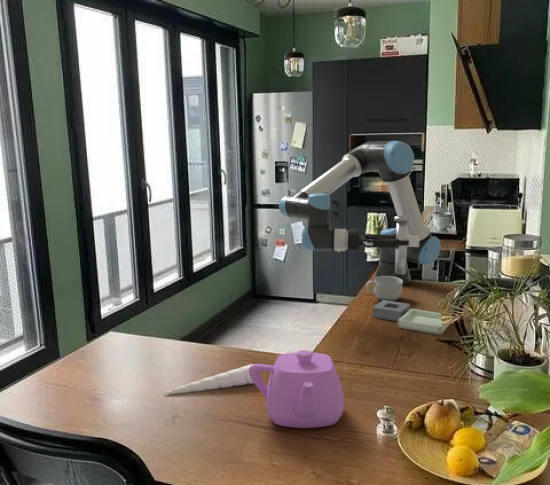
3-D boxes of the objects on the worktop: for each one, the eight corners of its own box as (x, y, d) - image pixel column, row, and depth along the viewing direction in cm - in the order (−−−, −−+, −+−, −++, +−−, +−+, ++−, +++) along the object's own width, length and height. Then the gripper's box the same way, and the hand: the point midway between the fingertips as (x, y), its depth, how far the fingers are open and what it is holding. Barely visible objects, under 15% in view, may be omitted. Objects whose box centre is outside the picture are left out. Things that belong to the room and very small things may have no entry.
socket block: (382, 309, 197) (383, 300, 196) (409, 313, 192) (410, 304, 191) (372, 317, 189) (372, 307, 188) (400, 321, 183) (400, 311, 183)
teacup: (400, 295, 214) (401, 275, 212) (404, 303, 203) (404, 283, 202) (364, 295, 215) (365, 275, 214) (366, 303, 204) (366, 282, 203)
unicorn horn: (162, 389, 137) (162, 371, 136) (255, 378, 142) (254, 360, 142) (163, 397, 132) (162, 379, 131) (259, 385, 138) (258, 368, 137)
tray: (410, 315, 190) (411, 308, 189) (451, 322, 182) (452, 314, 182) (397, 327, 178) (397, 320, 177) (440, 334, 171) (441, 327, 170)
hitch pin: (395, 270, 187) (397, 215, 184) (410, 272, 184) (412, 216, 181) (390, 273, 183) (391, 217, 179) (405, 275, 180) (407, 218, 177)
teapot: (251, 398, 131) (250, 339, 128) (339, 397, 131) (339, 338, 128) (245, 451, 109) (244, 381, 106) (351, 451, 108) (352, 380, 106)
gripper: (348, 246, 193) (415, 247, 189) (346, 256, 177) (420, 257, 173) (348, 225, 192) (416, 226, 188) (346, 233, 176) (421, 234, 172)
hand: (418, 241), depth 181 cm, fingers closed on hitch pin, 4 cm apart
